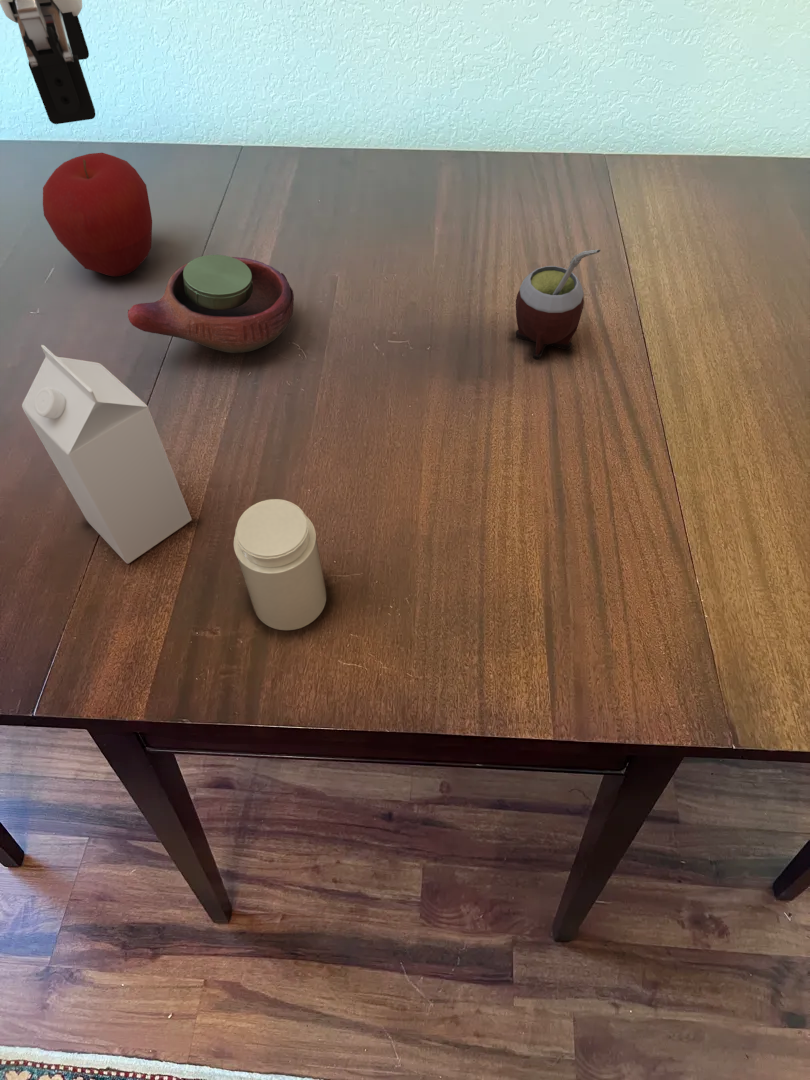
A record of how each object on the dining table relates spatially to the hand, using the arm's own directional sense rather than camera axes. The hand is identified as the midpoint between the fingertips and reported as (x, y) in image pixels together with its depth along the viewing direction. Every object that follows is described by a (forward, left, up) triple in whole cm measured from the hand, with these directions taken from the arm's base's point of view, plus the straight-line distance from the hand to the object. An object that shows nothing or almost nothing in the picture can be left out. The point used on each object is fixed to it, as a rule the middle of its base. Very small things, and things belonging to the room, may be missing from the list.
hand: (71, 88), depth 59 cm
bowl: (+6, +6, -31) cm, 32 cm away
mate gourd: (+41, +2, -31) cm, 51 cm away
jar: (+12, -28, -30) cm, 43 cm away
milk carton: (-2, -18, -31) cm, 36 cm away
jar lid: (+6, +6, -22) cm, 23 cm away
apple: (-8, +22, -31) cm, 38 cm away
